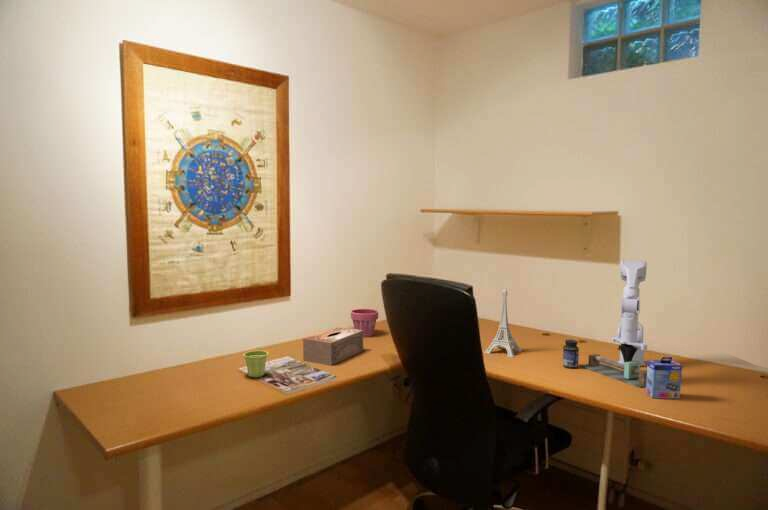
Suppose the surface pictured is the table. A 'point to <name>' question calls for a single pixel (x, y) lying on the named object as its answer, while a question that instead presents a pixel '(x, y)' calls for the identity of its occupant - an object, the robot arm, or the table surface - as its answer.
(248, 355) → the plant pot
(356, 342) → the tissue box cover
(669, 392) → the ink cartridge box
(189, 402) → the table surface
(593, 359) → the rail stand
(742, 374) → the table surface
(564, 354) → the pill bottle
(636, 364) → the collar
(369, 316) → the plant pot
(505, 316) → the eiffel tower
